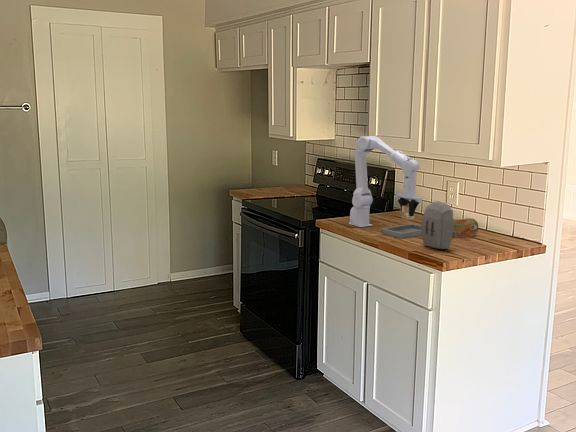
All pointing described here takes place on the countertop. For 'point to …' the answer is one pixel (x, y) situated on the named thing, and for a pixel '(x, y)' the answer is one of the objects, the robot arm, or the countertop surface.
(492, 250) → the countertop surface
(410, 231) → the tray
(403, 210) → the block
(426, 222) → the grey rounded bag
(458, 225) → the tin
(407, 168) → the robot arm
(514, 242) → the countertop surface
